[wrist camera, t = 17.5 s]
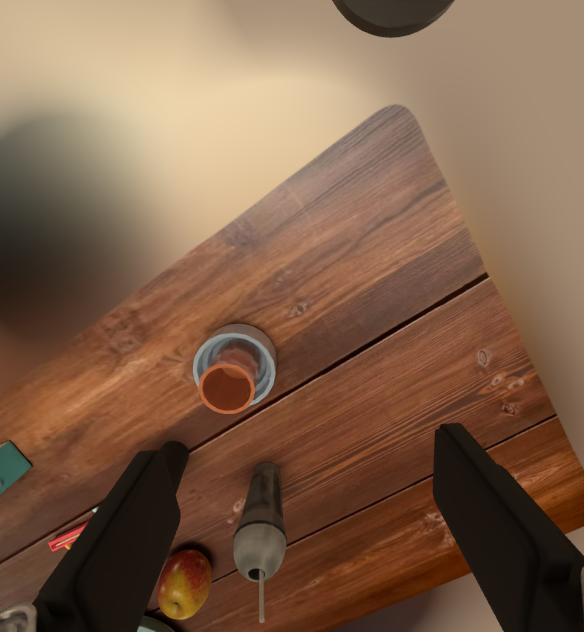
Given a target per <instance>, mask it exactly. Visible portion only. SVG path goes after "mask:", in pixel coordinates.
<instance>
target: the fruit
mask: <svg viewBox="0 0 584 632" xmlns="http://www.w3.org/2000/svg"><path fill="white" fill-rule="evenodd" d="M211 582H212V570H211V566H210V563H209V561H208V559H207V558H206V557H205V556H204V555H203V554H202V553H201V552H199V551H197V550H193V549H188V550H183V551H180V552H178V553H176V554H175V555H174V556H173V557H172V558H171V559H170V560H169V561H168V563H167V564H166V566H165V567H164V569H163V571H162V574H161V577H160V580H159V585H158V603H159V606H160V608H161V610H162V612H163V613H164V614H165V615H166V616H168V617H170V618H173V619H186V618H189V617H191V616H192V615H194V614H195V613H196V612H197V611H198V610H199V609H200V608H201V606H202V605H203V603H204V602H205V600H206V598H207V596H208V593H209V590H210V587H211Z"/></svg>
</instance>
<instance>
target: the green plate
mask: <svg viewBox="0 0 584 632" xmlns="http://www.w3.org/2000/svg"><path fill="white" fill-rule="evenodd" d="M137 632H175V631H174V630H173V629H171V628H170V627H169V626H168V625H166V624H165V623H163V622H161V621H159V620H157V619H154V618H152V617H148V616H144V615H143V618H142V620H141V623H140V625H139V628H138V631H137Z"/></svg>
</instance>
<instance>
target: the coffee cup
mask: <svg viewBox="0 0 584 632" xmlns="http://www.w3.org/2000/svg"><path fill="white" fill-rule="evenodd" d="M261 365H262V355H261V352H260V350H259V349H258V347H257V346H256V345H255V344H254V343H252V342H250V341H248V340H246V339H241V338H236V339H231V340H229V341H227V342H225V343H224V344H223V345H222V346H221V348H220V349H219V350H218V352H217V353H216V355H215V356H214V358H213V359H212V361H211V362H210V364H209V365H208V367H207V368H206V370H205V371H204V373H203V374H202V376H201V377H200V381H199V386H198V389H199V393H200V397H201V399H202V400H203V402H204V403H205V404H206V406H208V407H209V408H211V409H212V410H214V411H215V412H219V413H223V414H234V413H238V412H240V411H242V410H244V409H246V408H247V407H248V406H249V405H250V403H251V402H252V401H253V398H254V394H255V391H256V386H257V382H258V378H259V374H260V370H261Z"/></svg>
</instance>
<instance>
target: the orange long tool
mask: <svg viewBox="0 0 584 632" xmlns="http://www.w3.org/2000/svg"><path fill="white" fill-rule="evenodd" d="M98 508H99V507H98V506H97V507H96V508H95V509H93V510H92V511H93V512H94V513H95V512H96V511H97V509H98ZM88 522H89V521H88ZM88 522H86V523H84V524H82V525H80V526H78V527H76V528H74V529H72V530H69V531H67V532H65V533H63V534H61V535H59V536H57V537H56V538H54V539H53V540H52V541H51V542H49V543H48V544H49V546H50V548H51V550H52V552H53V551H55V550H57V549H59V548H61V547H63V546H65V547H66V548H67V549H70V547H71V545H70V543H72V542H74V541H75V540H76V539H77V537H78V536H79V535H80V533H81V532H82V530H83V529H84V528H85V526H86V525H87V523H88Z"/></svg>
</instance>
